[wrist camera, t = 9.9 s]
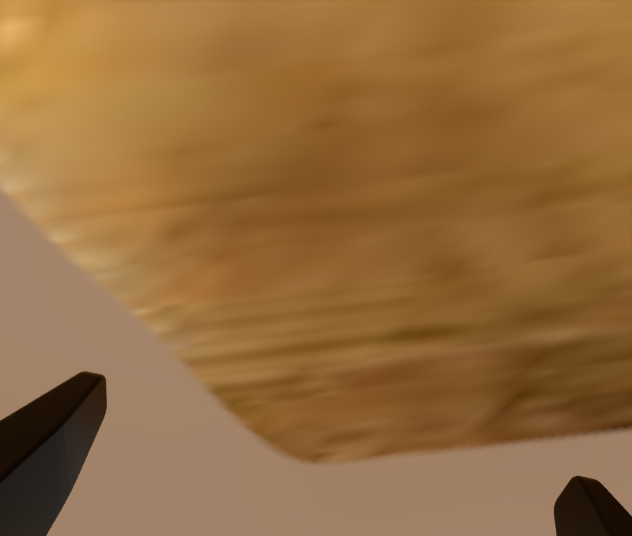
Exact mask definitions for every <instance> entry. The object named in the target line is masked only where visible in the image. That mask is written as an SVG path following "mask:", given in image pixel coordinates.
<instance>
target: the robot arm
mask: <svg viewBox="0 0 632 536" xmlns="http://www.w3.org/2000/svg"><path fill="white" fill-rule="evenodd" d="M106 408H107V395H106V379H105V377H104V376H103V375H101V374H97V373H92V372H87V371H84V372H80V373H78V374H77V375H75V376H73V377H71V378H70V379H68V380H67V381H65V382H63V383H62V384H60V385H58V386H57V387H55V388H53V389H52V390H50V391H49V392H47V393H45V394H43V395H42V396H40V397H39V398H37V399H35V400H34V401H32V402H30V403H28V404H27V405H25V406H24V407H22V408H20V409H19V410H17V411H15V412H14V413H12V414H10V415H9V416H7V417H6V418H4V419H2V420H0V536H46V535H47V533H48V532H49V530H50V528H51V526H52V524H53V523H54V521H55V519H56V518H57V516H58V514H59V513H60V511H61V509H62V507H63V505H64V504H65V502H66V500H67V498H68V496H69V495H70V493H71V491H72V488H73V486H74V484H75V482H76V480H77V478H78V475H79V473H80V471H81V469H82V466H83V464H84V462H85V460H86V457H87V455H88V453H89V451H90V448H91V446H92V444H93V441H94V439H95V437H96V435H97V432H98V430H99V428H100V426H101V423H102V421H103V419H104V416H105V413H106ZM554 519H555V527H556V535H557V536H632V516H631V515H630V514H629V513H628V512H627V511H626V510H625V509H624V507H623V506H622V505H621V504H620V503H619V502H618V501H617V500H616V499H615V498H614V497H613V496H612V494H610V492H609V491H608V490H607V489H606V488H605V487H604V486H603V485H602V484H601V483H600V482H599V481H597V480H595V479H591V478H587V477H581V476H575V477H573V478H572V479H571V480H570V481H569V483H568V484H567V485H566V487H565V488H564V490H563V491H562V493H561V494H560V496H559V497H558V498H557V500H556V502H555V506H554Z"/></svg>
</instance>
